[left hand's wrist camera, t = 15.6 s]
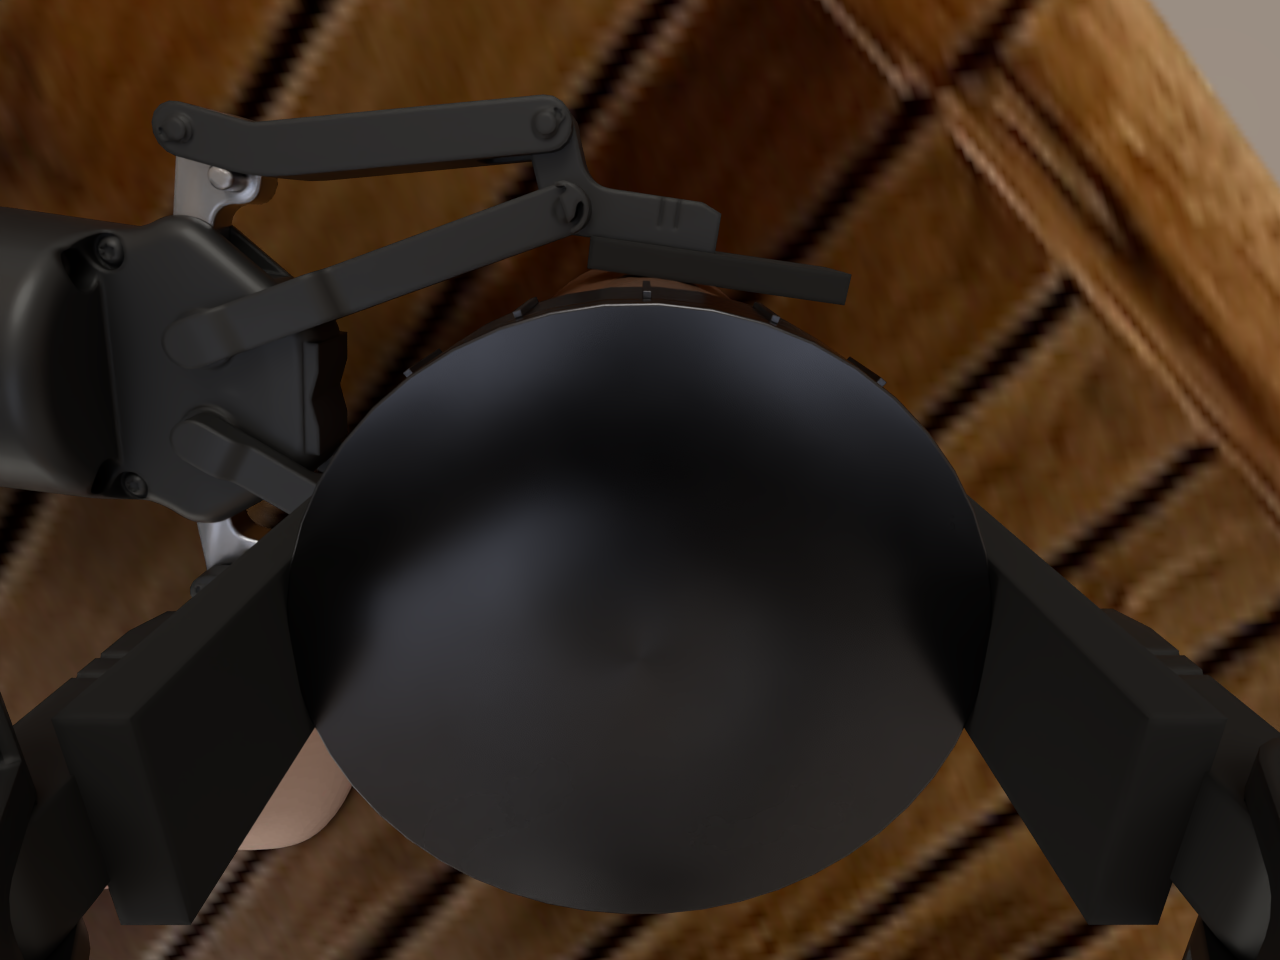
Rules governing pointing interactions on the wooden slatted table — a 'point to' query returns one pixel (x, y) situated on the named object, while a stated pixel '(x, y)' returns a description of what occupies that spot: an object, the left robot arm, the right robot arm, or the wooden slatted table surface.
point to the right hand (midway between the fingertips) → (796, 454)
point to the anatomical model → (300, 800)
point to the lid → (639, 603)
